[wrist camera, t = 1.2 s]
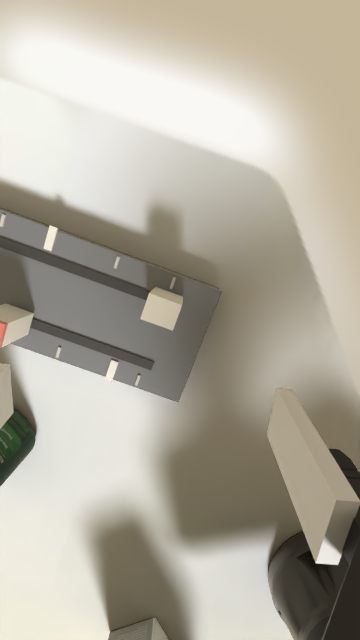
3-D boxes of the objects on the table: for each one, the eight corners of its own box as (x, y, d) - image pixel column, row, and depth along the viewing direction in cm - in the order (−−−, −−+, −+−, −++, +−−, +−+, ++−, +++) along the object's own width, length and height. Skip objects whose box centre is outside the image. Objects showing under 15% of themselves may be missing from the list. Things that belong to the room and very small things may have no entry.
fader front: (183, 296, 34) (182, 305, 28) (175, 318, 34) (172, 330, 29) (155, 286, 33) (149, 292, 28) (147, 308, 34) (140, 318, 28)
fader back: (33, 313, 34) (4, 324, 29) (28, 334, 35) (-2, 349, 29) (6, 303, 34) (-29, 312, 29) (0, 324, 35) (-35, 337, 29)
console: (219, 286, 37) (222, 289, 33) (178, 393, 39) (177, 405, 36) (-24, 196, 35) (-45, 190, 32) (-50, 313, 38) (-72, 318, 35)
